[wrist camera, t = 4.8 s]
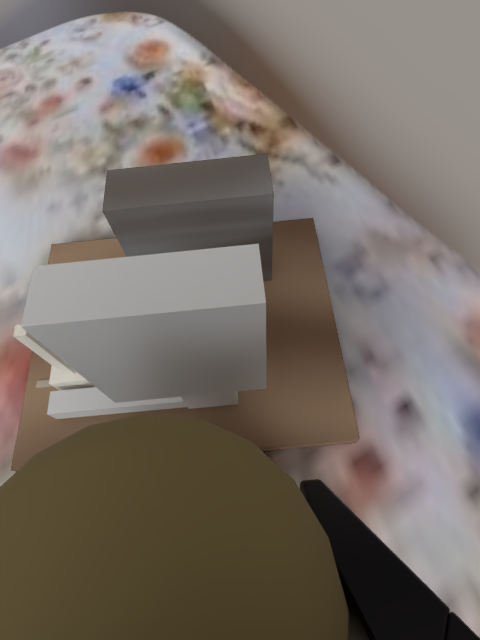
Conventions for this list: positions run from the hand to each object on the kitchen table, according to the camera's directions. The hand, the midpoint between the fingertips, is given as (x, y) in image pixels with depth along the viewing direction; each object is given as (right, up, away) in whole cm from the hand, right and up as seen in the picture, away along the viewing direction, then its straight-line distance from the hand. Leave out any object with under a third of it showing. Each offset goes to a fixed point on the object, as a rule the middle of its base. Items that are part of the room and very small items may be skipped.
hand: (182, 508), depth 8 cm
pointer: (-5, +1, +8) cm, 10 cm away
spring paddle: (-2, 0, +8) cm, 8 cm away
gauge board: (-1, +3, +10) cm, 11 cm away
